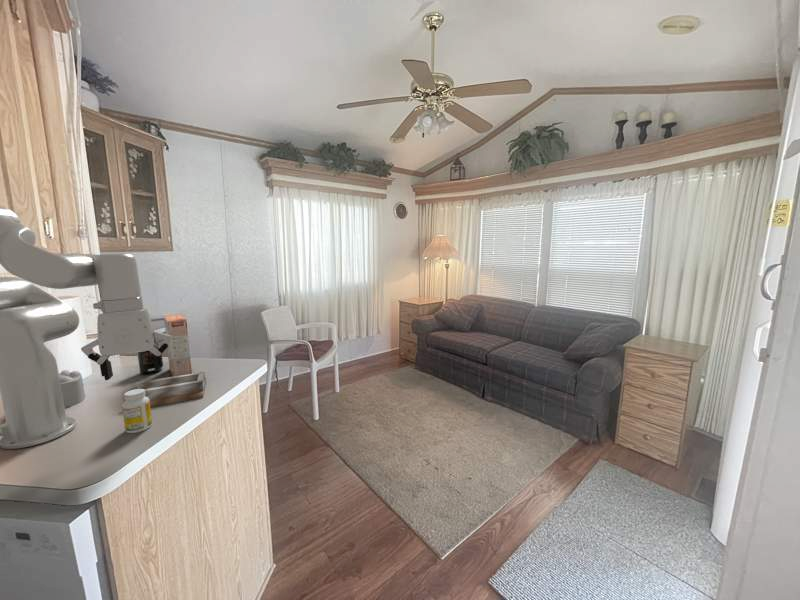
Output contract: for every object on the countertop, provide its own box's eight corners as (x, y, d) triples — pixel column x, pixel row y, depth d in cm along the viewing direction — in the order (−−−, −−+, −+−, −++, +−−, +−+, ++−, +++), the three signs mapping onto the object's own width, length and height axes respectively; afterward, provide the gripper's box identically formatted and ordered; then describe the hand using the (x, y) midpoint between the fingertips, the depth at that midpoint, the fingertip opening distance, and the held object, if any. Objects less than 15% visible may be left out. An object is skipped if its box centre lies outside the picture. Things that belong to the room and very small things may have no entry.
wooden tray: (128, 410, 92) (126, 396, 91) (141, 392, 104) (139, 379, 103) (203, 397, 100) (201, 384, 99) (206, 381, 112) (205, 369, 111)
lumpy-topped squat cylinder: (31, 415, 90) (25, 385, 89) (39, 399, 100) (34, 372, 99) (83, 403, 97) (79, 375, 96) (86, 390, 107) (82, 364, 105)
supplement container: (159, 367, 127) (156, 341, 125) (165, 371, 122) (161, 344, 121) (137, 372, 121) (133, 345, 120) (142, 376, 117) (139, 348, 116)
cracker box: (193, 375, 118) (187, 318, 115) (173, 379, 114) (166, 321, 111) (188, 365, 128) (181, 313, 125) (169, 369, 125) (162, 315, 122)
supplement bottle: (134, 435, 79) (128, 398, 77) (120, 431, 81) (115, 394, 79) (157, 424, 84) (152, 389, 82) (144, 421, 86) (139, 386, 84)
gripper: (67, 312, 71) (81, 387, 73) (163, 303, 78) (174, 372, 81) (81, 307, 77) (94, 376, 80) (169, 300, 85) (178, 363, 87)
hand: (134, 374), depth 80 cm, fingers open, 9 cm apart
